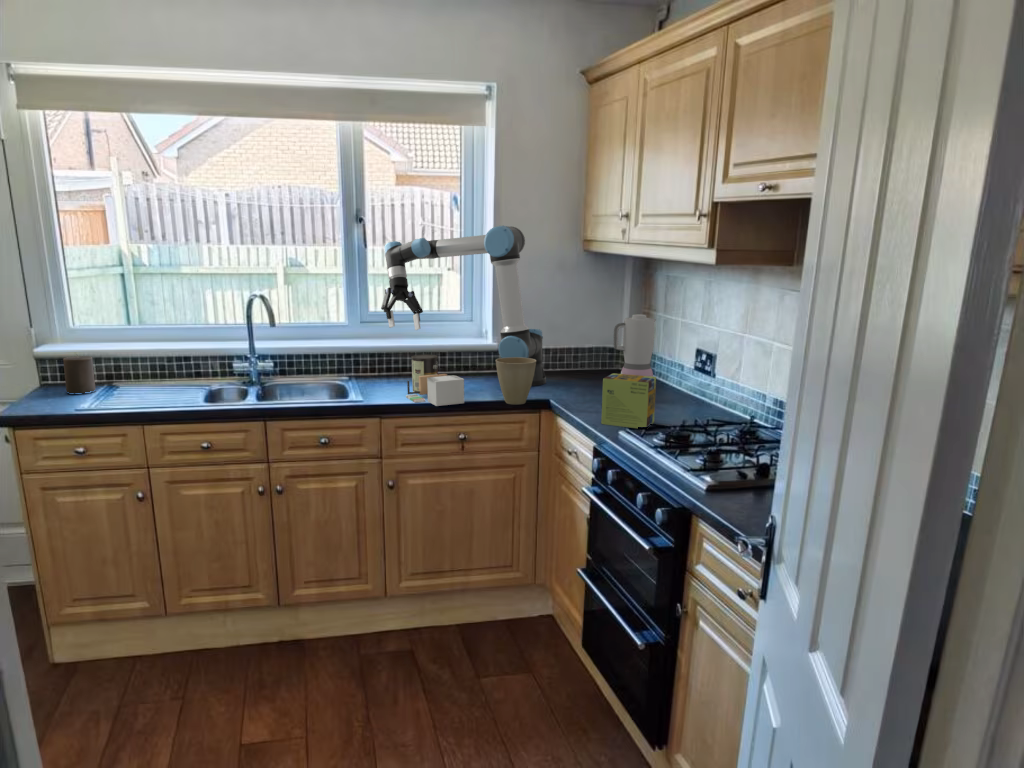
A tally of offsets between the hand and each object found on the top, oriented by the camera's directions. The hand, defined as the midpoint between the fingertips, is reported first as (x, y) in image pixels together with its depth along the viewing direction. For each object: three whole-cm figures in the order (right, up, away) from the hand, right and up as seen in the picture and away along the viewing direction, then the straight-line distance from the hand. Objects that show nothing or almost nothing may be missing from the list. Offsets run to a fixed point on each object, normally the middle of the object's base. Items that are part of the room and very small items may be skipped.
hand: (405, 328), depth 285 cm
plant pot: (+45, -30, -27) cm, 60 cm away
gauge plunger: (+13, -27, -21) cm, 36 cm away
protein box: (+82, -36, -56) cm, 105 cm away
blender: (+89, -29, -21) cm, 96 cm away
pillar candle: (-123, -26, -15) cm, 127 cm away
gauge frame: (+15, -29, -24) cm, 41 cm away
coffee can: (+9, -26, -9) cm, 29 cm away
